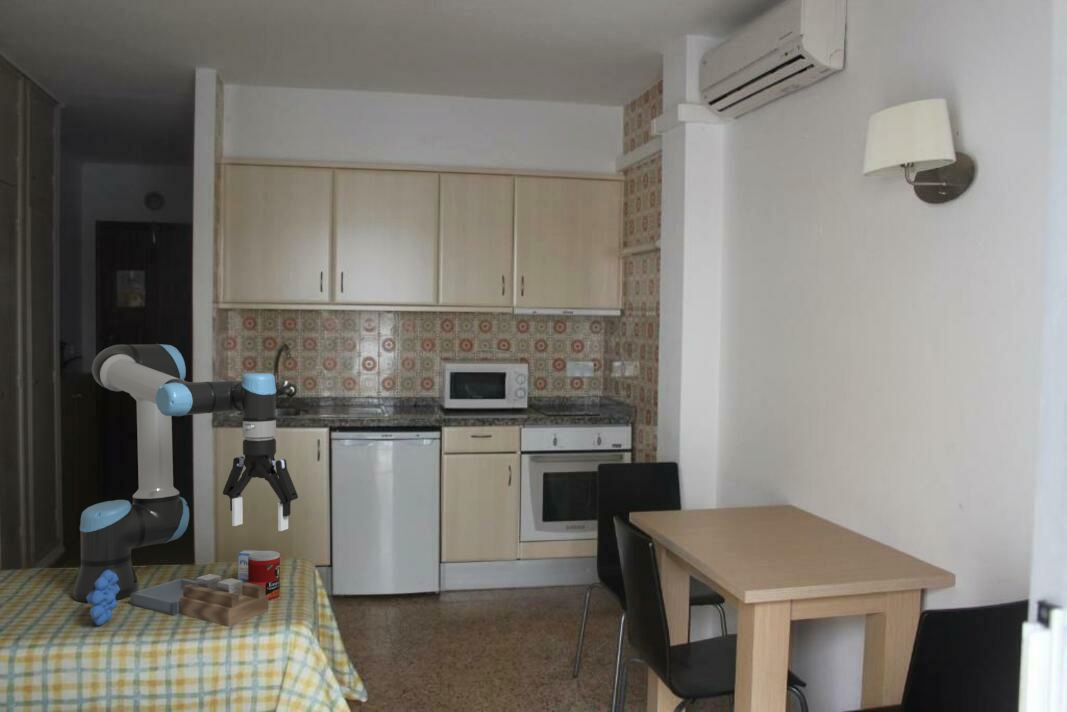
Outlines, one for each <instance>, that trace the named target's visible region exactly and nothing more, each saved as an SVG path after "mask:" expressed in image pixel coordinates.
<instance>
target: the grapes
mask: <svg viewBox="0 0 1067 712" xmlns="http://www.w3.org/2000/svg"><path fill="white" fill-rule="evenodd" d="M118 580H119V578H118V576H117V575H116V573H114V572H112V571H111V570H105V571H104V572H103V573H102V574H101V576H100V578H98V579H97V580H96V582H95V583H94V585H95V588H96V589H95V590H94V591H91V592H90V593H89V594H88V595H87V597H86V599H87V601H88V602H87V603H88V604H90V605H91V606H92V607H91V608H90V610H89V613H90V616H91V617H92V620H93V622H94V623H95V625H96V626H102V625H103V624H105V623H107V622H109V621H110V620H111V619H112V617H113V616H114V613H113V610H114V609H116V608H117V606H118V605H119V603H118V601H117V600H118V599H117V600H116V599H115V597H116V595H117V594H118V592H119V591H120V588H119V586H118V585H117V584H116V582H117V581H118Z"/></svg>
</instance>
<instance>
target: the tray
mask: <svg viewBox="0 0 1067 712" xmlns="http://www.w3.org/2000/svg"><path fill="white" fill-rule="evenodd" d="M190 584H191V585H196V580H193V579H187V578H184V577H181V578H178V579H174V580H171V581H170V580H169V581H167V582H164V583H160V584H157V585H154V586H150V587H146V588H143V589H139V590H138V591H136V592H132V593H131V596H130V605H131V606H134V607H137V608H142V609H146V610H149V611H153V612H158V613H160V614H161V613H162V614H165V615H169V616H177V615H181V614H180V598H181V597H183V586H186V585H190Z"/></svg>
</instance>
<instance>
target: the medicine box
mask: <svg viewBox="0 0 1067 712" xmlns="http://www.w3.org/2000/svg"><path fill="white" fill-rule="evenodd" d="M258 551H259V550H254V549H244V550H242V551H240V552H239V553H238V557H237V558H238V559H237V560H238V561H237V565H238V566H237V568H238V569H237V570H238V574H237V580H242V582H247V583H248V556H249V554H251V553H254V552H258Z"/></svg>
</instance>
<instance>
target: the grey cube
mask: <svg viewBox="0 0 1067 712" xmlns="http://www.w3.org/2000/svg"><path fill="white" fill-rule="evenodd" d="M217 590H218V591H222V592H227V593H231V594H236V595H239V598H241V597H242V580H238V578H237V579H235V578H232V577H231V578H228V579H227V580H223V581H220V582H217Z"/></svg>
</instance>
